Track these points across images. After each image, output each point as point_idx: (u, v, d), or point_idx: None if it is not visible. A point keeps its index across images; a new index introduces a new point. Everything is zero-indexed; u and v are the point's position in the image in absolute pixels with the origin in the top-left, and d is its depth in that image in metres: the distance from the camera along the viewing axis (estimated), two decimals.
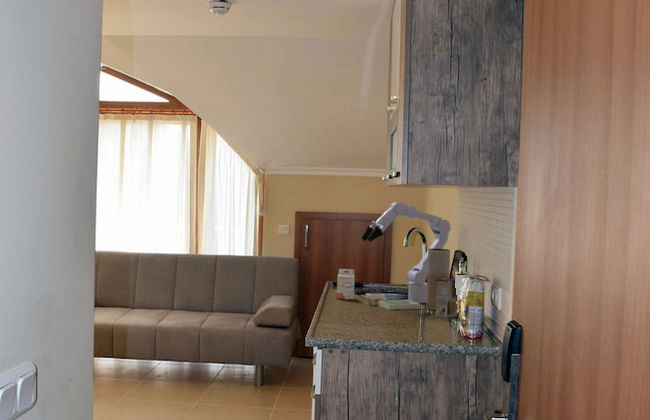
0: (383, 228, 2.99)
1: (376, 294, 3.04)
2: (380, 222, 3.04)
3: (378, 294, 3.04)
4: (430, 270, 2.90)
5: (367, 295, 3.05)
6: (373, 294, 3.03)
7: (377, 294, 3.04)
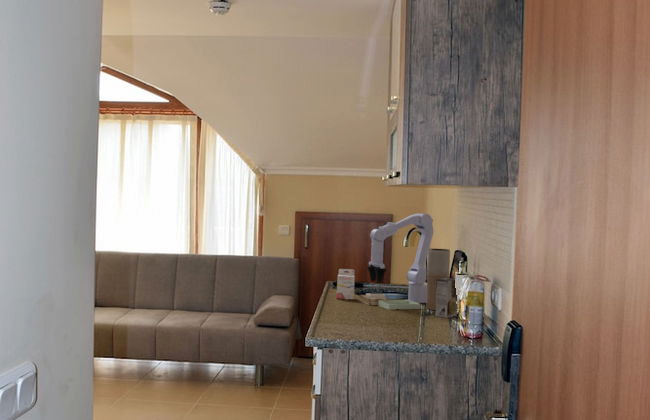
0: (382, 266, 2.98)
1: (376, 294, 3.04)
2: (375, 260, 3.03)
3: (378, 294, 3.04)
4: (430, 270, 2.90)
5: (367, 295, 3.05)
6: (373, 294, 3.03)
7: (377, 294, 3.04)
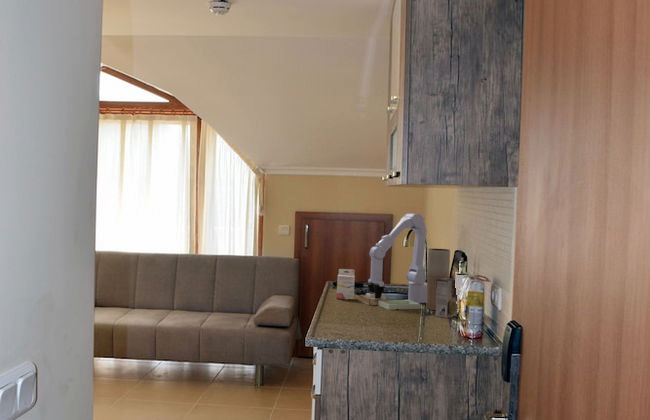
0: (382, 284, 2.98)
1: None
2: (375, 278, 3.03)
3: None
4: (430, 270, 2.90)
5: (367, 295, 3.05)
6: (373, 294, 3.03)
7: None
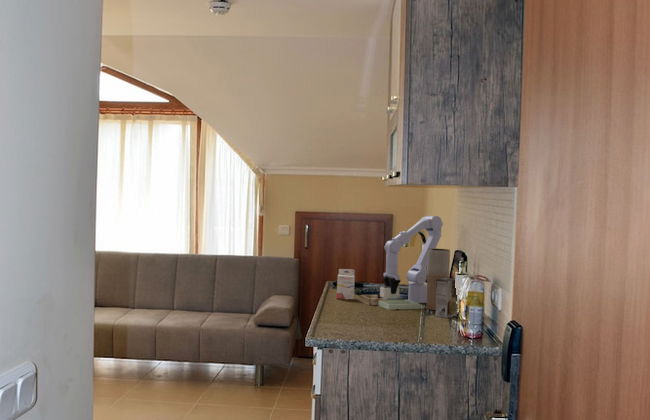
0: (397, 277, 3.01)
1: (390, 288, 3.06)
2: (390, 271, 3.05)
3: None
4: (430, 270, 2.90)
5: (381, 289, 3.07)
6: (387, 288, 3.06)
7: None
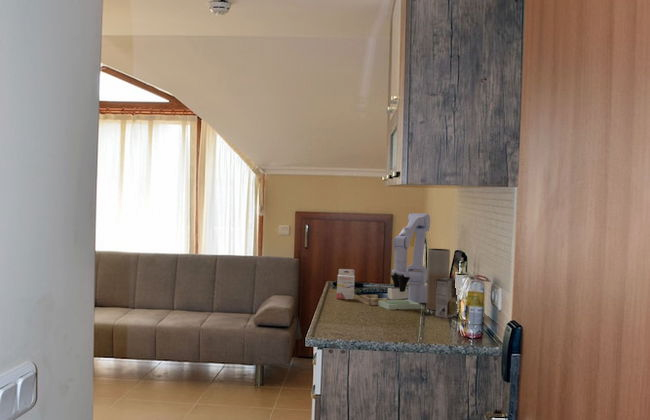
0: (407, 274, 2.87)
1: (399, 288, 2.92)
2: (399, 268, 2.91)
3: None
4: (430, 270, 2.90)
5: (389, 290, 2.93)
6: (395, 289, 2.92)
7: (399, 288, 2.92)
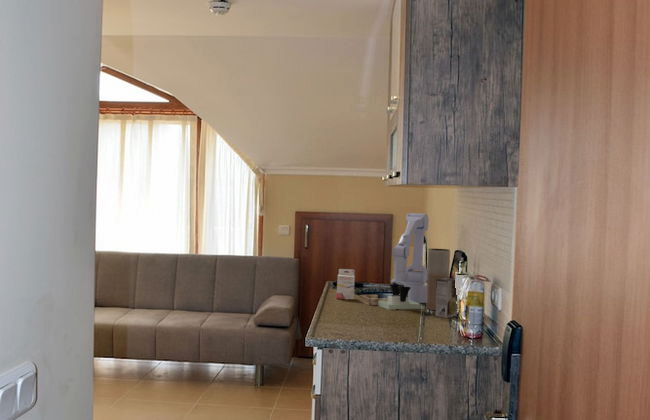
0: (406, 284, 2.87)
1: (399, 296, 2.92)
2: (399, 278, 2.91)
3: None
4: (430, 270, 2.90)
5: (389, 297, 2.93)
6: (395, 296, 2.92)
7: (399, 296, 2.92)
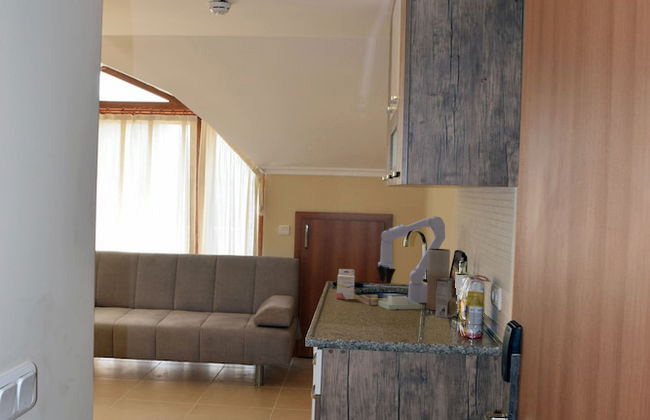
0: (391, 266, 3.08)
1: (399, 296, 2.92)
2: (384, 260, 3.12)
3: (400, 296, 2.93)
4: (430, 270, 2.90)
5: (389, 297, 2.93)
6: (395, 296, 2.92)
7: (399, 296, 2.92)
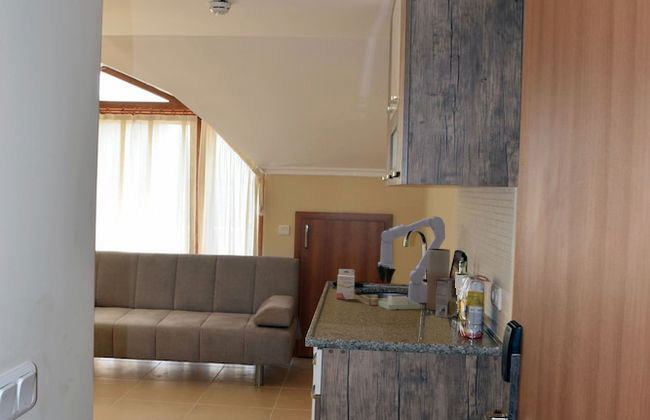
0: (391, 266, 3.08)
1: (399, 296, 2.92)
2: (384, 260, 3.12)
3: (400, 296, 2.93)
4: (430, 270, 2.90)
5: (389, 297, 2.93)
6: (395, 296, 2.92)
7: (399, 296, 2.92)
